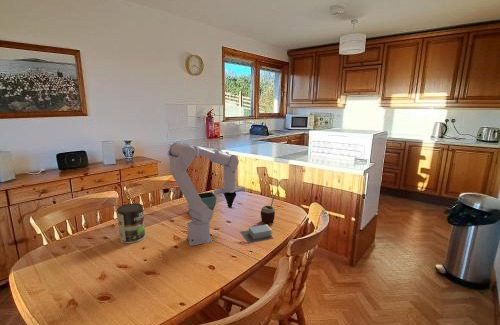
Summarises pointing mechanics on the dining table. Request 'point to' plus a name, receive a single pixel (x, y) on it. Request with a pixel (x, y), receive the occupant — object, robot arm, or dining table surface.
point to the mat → (250, 239)
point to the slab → (260, 231)
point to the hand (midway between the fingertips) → (229, 207)
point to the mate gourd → (268, 213)
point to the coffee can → (131, 223)
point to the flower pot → (208, 199)
